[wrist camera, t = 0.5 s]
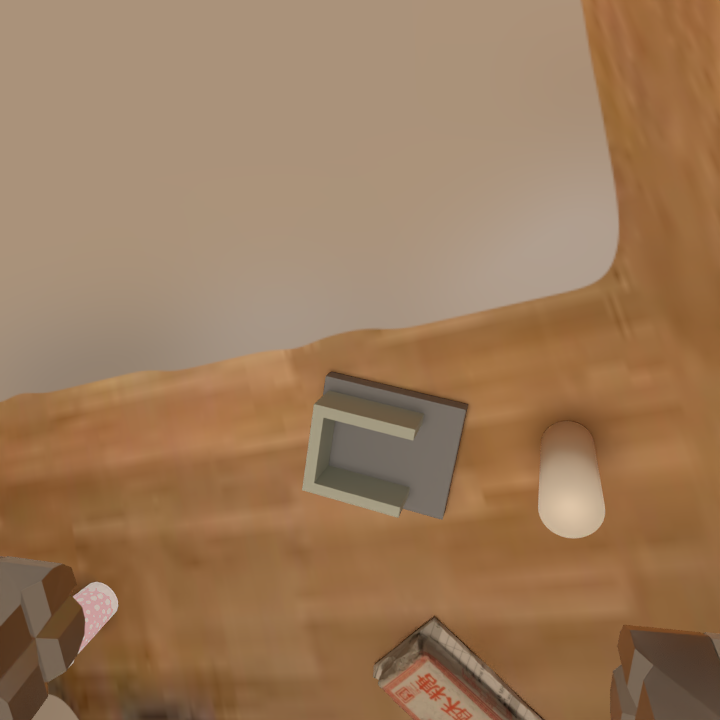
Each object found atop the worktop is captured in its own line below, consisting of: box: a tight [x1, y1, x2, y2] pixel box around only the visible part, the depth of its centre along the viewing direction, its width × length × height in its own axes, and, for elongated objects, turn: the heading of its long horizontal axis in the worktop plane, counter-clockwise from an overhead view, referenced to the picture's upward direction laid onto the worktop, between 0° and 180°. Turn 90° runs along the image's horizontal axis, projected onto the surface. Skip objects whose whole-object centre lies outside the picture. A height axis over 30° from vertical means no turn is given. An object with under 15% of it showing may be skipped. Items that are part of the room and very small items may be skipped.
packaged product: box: [373, 617, 543, 720], centre depth 63 cm, size 18×5×10 cm
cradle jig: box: [302, 372, 468, 519], centre depth 57 cm, size 11×13×6 cm
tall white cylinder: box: [538, 421, 605, 538], centre depth 50 cm, size 4×4×12 cm
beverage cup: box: [69, 582, 118, 667], centre depth 69 cm, size 6×6×14 cm
